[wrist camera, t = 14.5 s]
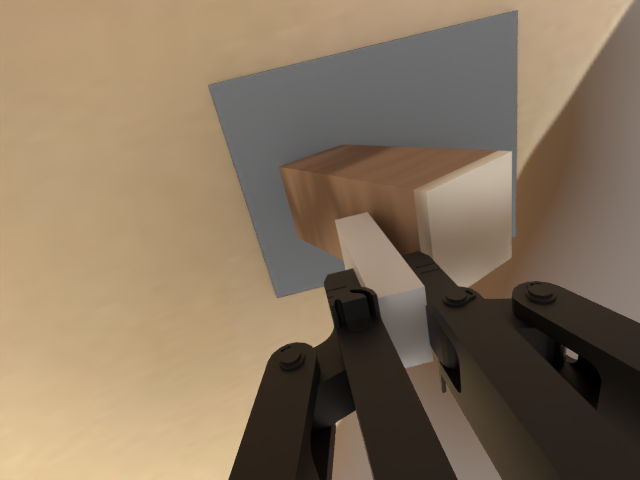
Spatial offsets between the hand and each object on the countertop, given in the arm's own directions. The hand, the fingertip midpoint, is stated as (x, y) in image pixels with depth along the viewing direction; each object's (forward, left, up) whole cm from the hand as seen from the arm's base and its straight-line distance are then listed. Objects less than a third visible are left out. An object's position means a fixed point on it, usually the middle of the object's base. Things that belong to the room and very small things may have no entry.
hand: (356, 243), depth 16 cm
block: (0, -1, -9) cm, 9 cm away
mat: (0, +4, -11) cm, 11 cm away
